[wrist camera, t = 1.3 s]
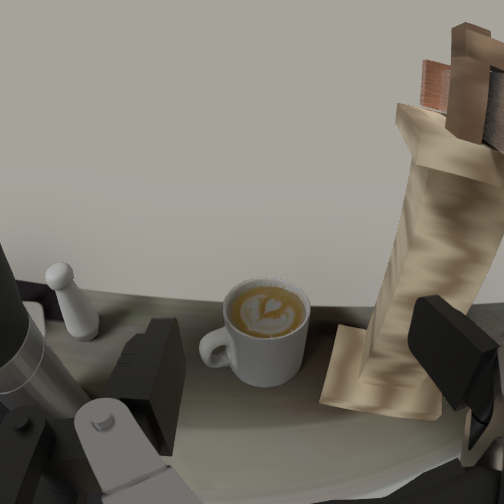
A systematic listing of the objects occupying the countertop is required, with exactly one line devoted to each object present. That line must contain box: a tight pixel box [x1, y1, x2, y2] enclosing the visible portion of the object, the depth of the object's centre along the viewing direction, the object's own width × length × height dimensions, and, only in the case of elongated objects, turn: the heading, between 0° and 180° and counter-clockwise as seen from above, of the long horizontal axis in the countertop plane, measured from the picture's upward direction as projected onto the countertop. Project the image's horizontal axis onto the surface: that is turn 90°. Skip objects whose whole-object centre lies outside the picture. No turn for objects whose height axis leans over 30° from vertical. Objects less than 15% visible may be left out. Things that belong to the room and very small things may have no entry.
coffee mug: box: [199, 277, 310, 388], centre depth 37 cm, size 13×10×10 cm
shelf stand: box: [319, 22, 504, 421], centre depth 24 cm, size 16×14×39 cm
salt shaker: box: [46, 262, 99, 341], centre depth 39 cm, size 6×6×13 cm
